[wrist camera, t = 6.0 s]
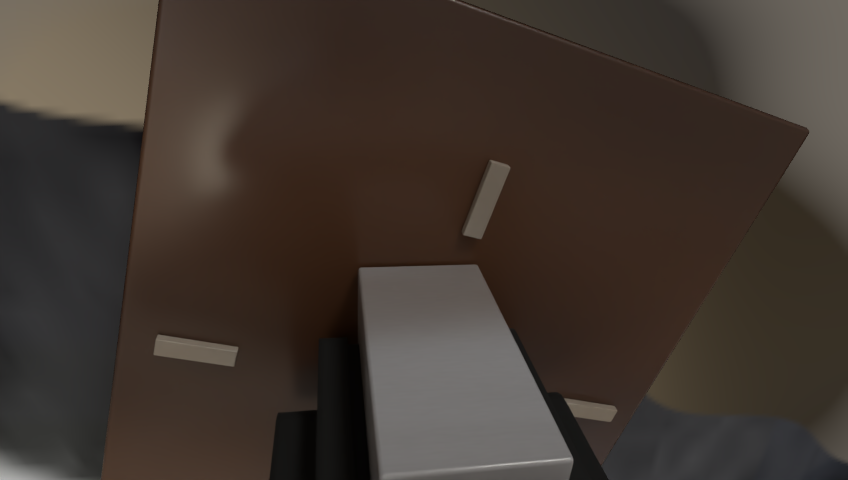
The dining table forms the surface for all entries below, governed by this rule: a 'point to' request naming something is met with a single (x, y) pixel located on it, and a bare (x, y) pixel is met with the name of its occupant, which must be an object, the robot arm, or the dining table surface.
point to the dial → (448, 382)
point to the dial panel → (408, 210)
